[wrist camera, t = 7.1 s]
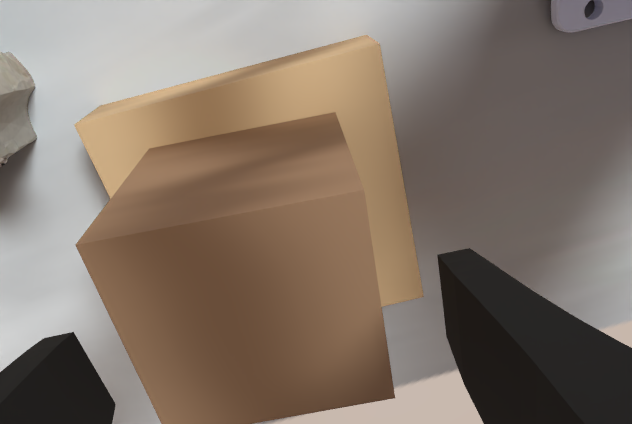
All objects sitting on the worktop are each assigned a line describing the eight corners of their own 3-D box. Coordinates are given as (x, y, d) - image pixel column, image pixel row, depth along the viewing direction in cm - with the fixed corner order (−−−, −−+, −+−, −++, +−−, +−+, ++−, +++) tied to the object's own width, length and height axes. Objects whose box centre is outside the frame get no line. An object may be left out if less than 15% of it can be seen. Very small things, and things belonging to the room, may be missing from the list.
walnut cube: (335, 112, 12) (364, 189, 8) (361, 269, 15) (395, 397, 10) (148, 148, 13) (75, 245, 8) (203, 298, 15) (168, 438, 10)
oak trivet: (363, 32, 14) (379, 43, 12) (405, 255, 18) (423, 296, 15) (106, 101, 14) (74, 124, 12) (198, 306, 18) (186, 353, 16)
